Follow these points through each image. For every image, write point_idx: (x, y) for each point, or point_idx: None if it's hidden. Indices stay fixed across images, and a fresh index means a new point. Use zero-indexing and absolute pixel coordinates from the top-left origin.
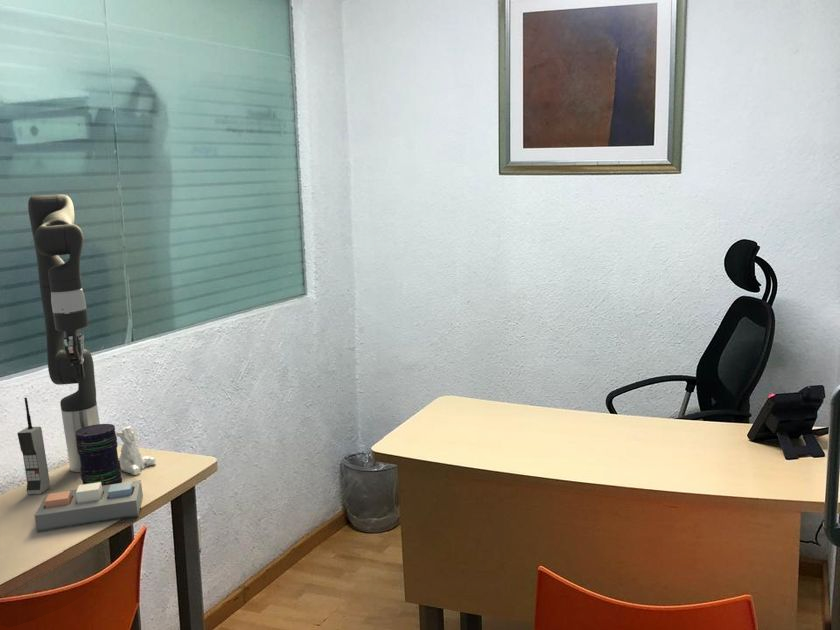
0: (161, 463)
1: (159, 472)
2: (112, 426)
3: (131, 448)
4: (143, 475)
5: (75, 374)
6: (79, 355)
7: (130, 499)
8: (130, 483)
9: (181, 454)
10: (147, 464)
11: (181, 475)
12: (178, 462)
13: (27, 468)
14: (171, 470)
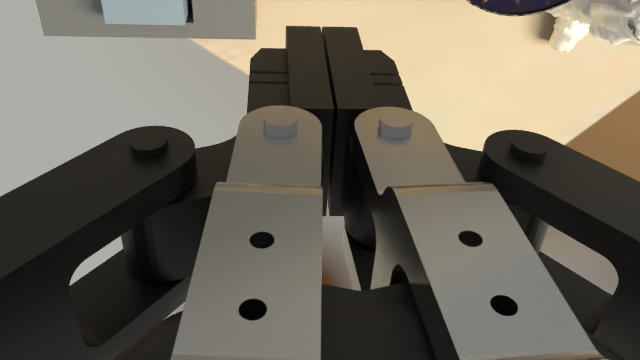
0: (552, 60)
1: (460, 58)
2: (541, 2)
3: (573, 5)
4: (463, 8)
5: (250, 74)
6: (126, 344)
7: (57, 17)
8: (166, 20)
9: (598, 117)
10: (555, 20)
11: None
12: (522, 110)
13: None
14: (456, 93)
